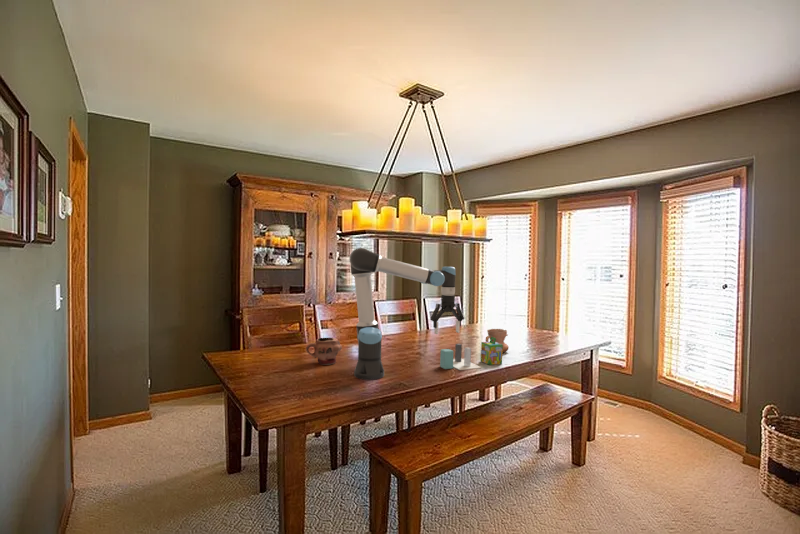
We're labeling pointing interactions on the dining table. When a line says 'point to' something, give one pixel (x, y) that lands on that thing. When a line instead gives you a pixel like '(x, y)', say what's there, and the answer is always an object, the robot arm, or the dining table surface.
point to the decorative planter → (325, 350)
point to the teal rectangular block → (446, 359)
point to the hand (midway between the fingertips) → (447, 333)
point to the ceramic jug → (498, 337)
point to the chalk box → (491, 352)
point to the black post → (458, 352)
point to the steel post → (467, 357)
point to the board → (461, 365)
